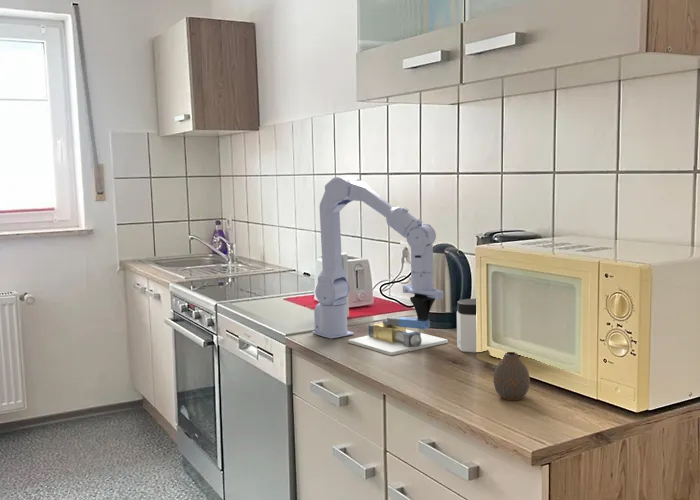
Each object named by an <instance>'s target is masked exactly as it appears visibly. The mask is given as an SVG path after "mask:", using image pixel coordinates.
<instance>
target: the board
mask: <svg viewBox="0 0 700 500" xmlns="http://www.w3.org/2000/svg"><path fill="white" fill-rule="evenodd" d="M406 332H407V333H411V332H416V331H414V330H411V329H407V328H406ZM420 333H421V339H422V341H421V344H420V345H419V346H417V347H416V346H411V347H407V346H404V343H402V342H395V343H390V342H388V341H384V340H380V339H376V338H373V337H371V336H369V334H367V335H364V336H363V335H362V336H359V337H355V338H349V339H347V341H348V344H352V345H355V346H359V347H362V348H365V349H368V350H372V351H376V352H379V353H382V354H385V355H388V356H395V355H401V354H405V353H408V351H409V352H413V351H418V350H421V349H426V348H429V347H435V346H438V345H439V346H440V345H443V344H448V343H449V341H448V340H449V339H447V338H444V337H439V336H434V335H430V334H426V333H423V332H420Z"/></svg>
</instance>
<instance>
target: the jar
mask: <svg viewBox="0 0 700 500" xmlns="http://www.w3.org/2000/svg"><path fill="white" fill-rule="evenodd" d="M476 299H477V298H465V299H460V300H458V301H457V311H456V346H457V348H458V349H459V350H460V351H461V352H462V353H463V352H464V353H475V354H477V353H476Z"/></svg>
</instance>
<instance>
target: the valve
mask: <svg viewBox="0 0 700 500" xmlns="http://www.w3.org/2000/svg"><path fill="white" fill-rule="evenodd" d="M367 327H368V335H369V336H371V337H373V338H376V339H380V340H384V341H388V342H390V343H395V342H402V343H404V346H407V347H411V346H416V347H417V346H419V345H420V344H421V341H422V339H421V333H422V332H419V331H415V332H411V333H407V332H406V329H407V327H399V326H385V325H383V322H377V323H372V324H368V325H367Z"/></svg>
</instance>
